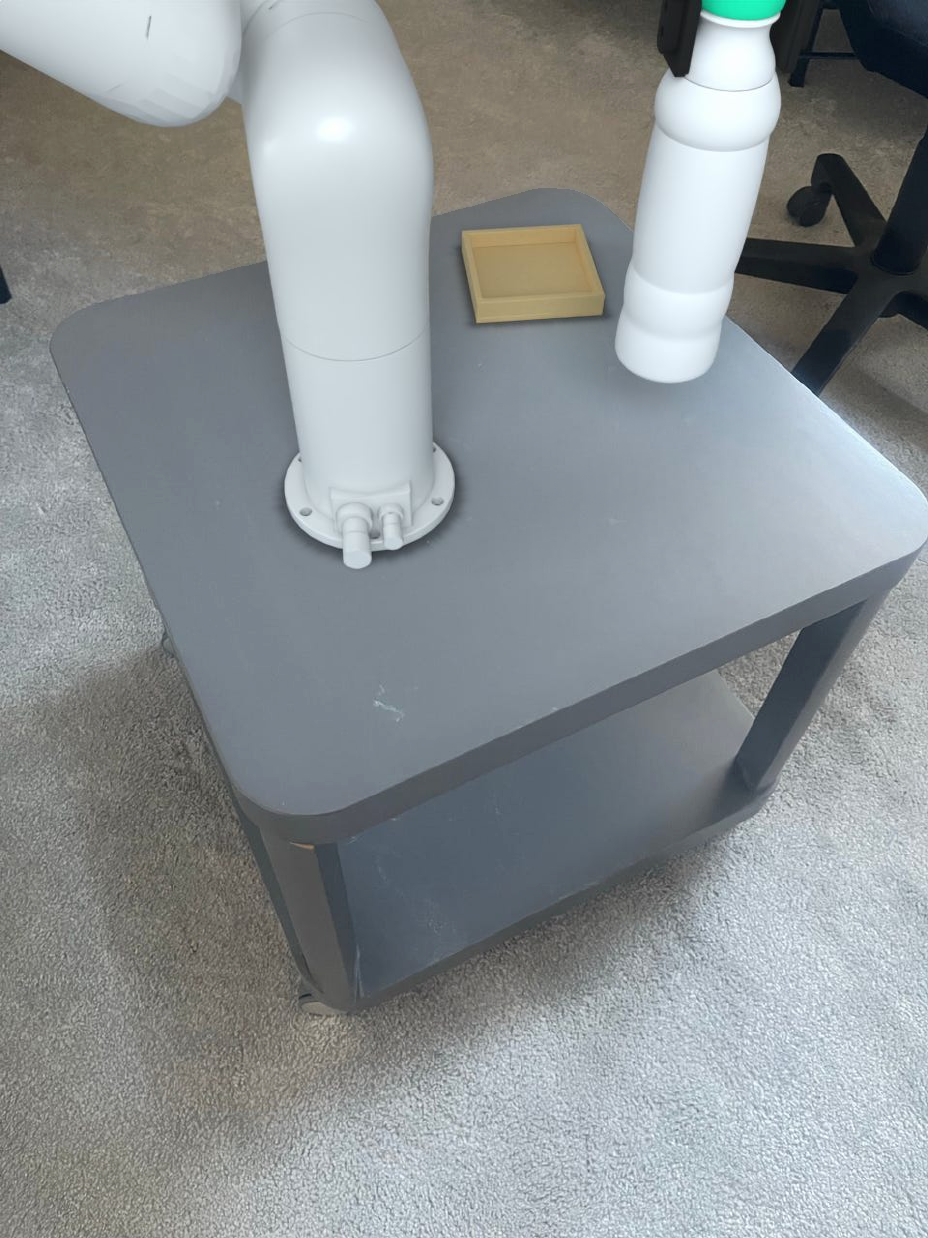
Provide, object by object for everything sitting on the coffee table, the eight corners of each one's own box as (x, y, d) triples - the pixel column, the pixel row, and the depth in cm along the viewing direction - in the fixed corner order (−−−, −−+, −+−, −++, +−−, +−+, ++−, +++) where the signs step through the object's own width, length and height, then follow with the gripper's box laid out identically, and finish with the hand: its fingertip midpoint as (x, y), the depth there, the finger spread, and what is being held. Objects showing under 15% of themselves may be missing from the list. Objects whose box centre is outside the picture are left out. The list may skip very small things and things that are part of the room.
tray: (602, 315, 89) (605, 294, 87) (476, 323, 88) (476, 302, 86) (579, 243, 96) (581, 223, 94) (461, 250, 95) (461, 230, 93)
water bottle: (603, 376, 70) (668, -29, 50) (624, 317, 74) (691, -79, 54) (705, 397, 68) (813, -9, 49) (720, 336, 73) (825, -61, 53)
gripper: (643, -386, 38) (587, 102, 52) (1068, -384, 40) (901, 90, 54) (603, -418, 43) (562, 39, 57) (986, -415, 44) (852, 30, 58)
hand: (727, 60), depth 55 cm, fingers closed on water bottle, 5 cm apart
